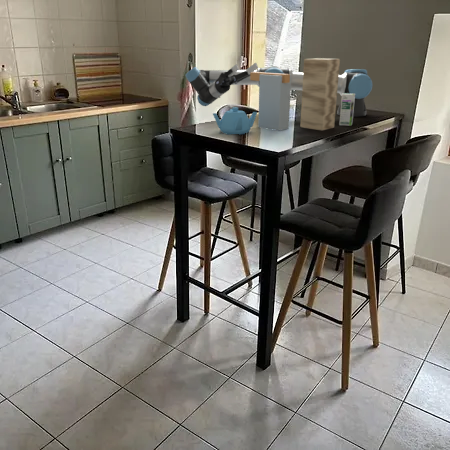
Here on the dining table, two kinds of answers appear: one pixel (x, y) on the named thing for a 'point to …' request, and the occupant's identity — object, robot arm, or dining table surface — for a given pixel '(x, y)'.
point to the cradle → (274, 102)
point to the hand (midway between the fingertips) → (247, 66)
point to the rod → (256, 75)
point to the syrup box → (347, 109)
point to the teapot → (235, 121)
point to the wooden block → (319, 93)
